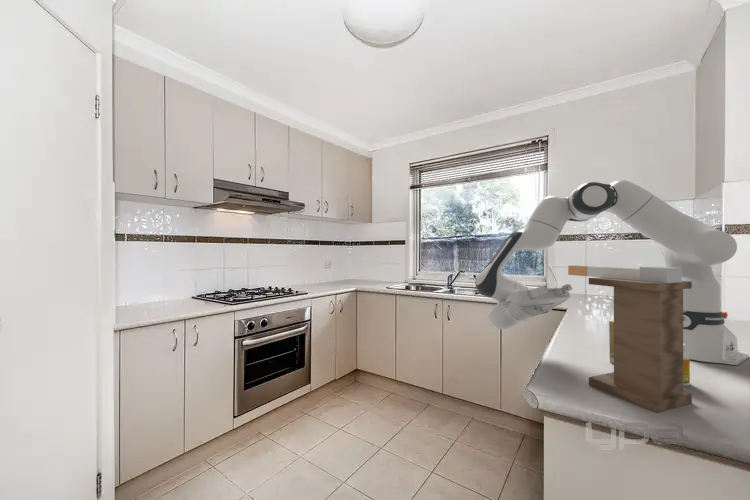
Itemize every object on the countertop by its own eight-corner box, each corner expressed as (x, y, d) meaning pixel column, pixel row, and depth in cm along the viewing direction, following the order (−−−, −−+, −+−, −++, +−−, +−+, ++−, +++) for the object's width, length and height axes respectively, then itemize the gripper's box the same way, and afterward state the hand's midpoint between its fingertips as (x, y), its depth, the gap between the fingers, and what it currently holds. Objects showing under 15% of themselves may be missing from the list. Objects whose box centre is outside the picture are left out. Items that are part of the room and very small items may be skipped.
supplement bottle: (695, 387, 77) (695, 346, 77) (669, 385, 78) (669, 345, 78) (679, 378, 82) (679, 340, 82) (655, 376, 83) (655, 339, 83)
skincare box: (623, 359, 96) (623, 318, 96) (639, 364, 92) (639, 321, 92) (608, 362, 94) (608, 320, 94) (623, 367, 90) (623, 323, 90)
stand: (621, 378, 82) (621, 276, 82) (691, 402, 69) (691, 281, 69) (588, 385, 78) (588, 277, 78) (656, 412, 65) (656, 283, 65)
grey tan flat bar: (578, 274, 89) (578, 263, 89) (681, 282, 68) (681, 267, 68) (565, 274, 87) (565, 263, 87) (667, 283, 66) (667, 268, 66)
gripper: (495, 297, 102) (525, 278, 91) (544, 294, 109) (577, 276, 98) (503, 316, 99) (534, 299, 88) (552, 311, 106) (587, 295, 95)
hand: (557, 287), depth 93 cm, fingers open, 8 cm apart
